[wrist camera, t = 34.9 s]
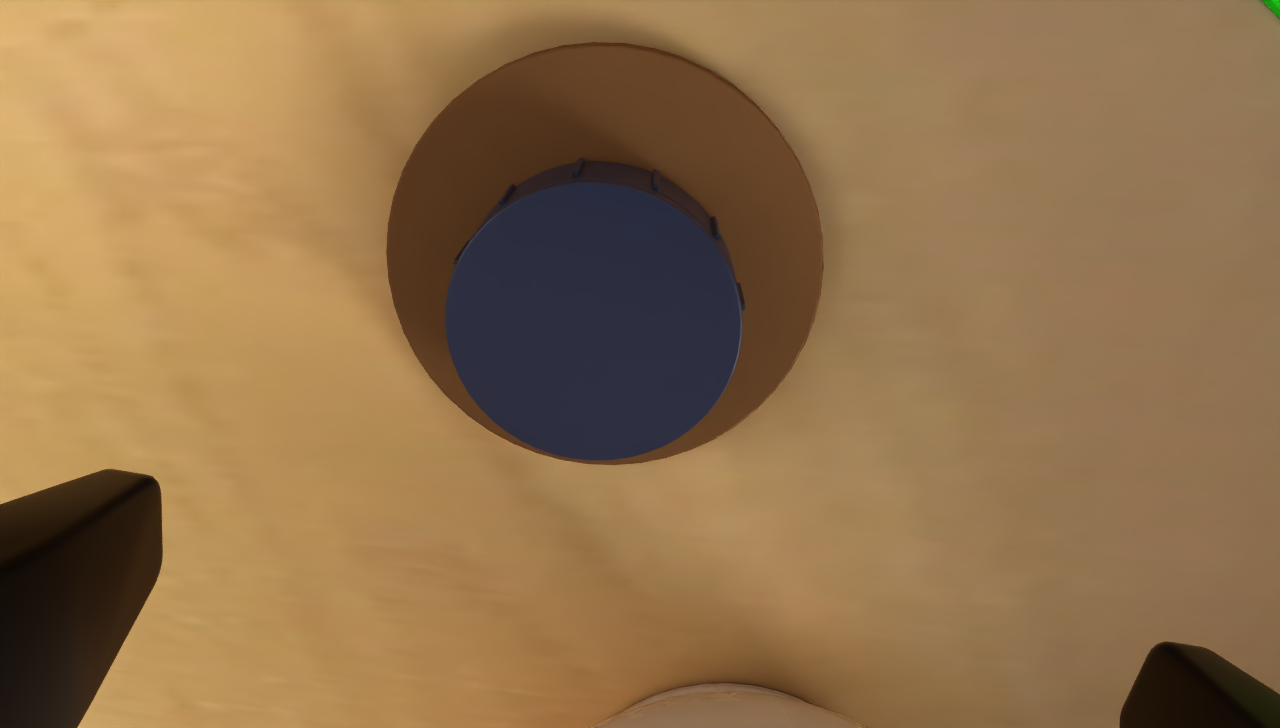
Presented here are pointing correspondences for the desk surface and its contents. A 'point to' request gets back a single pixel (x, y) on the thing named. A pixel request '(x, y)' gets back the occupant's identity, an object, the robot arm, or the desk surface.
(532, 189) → the jar lid
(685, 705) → the lidded bowl
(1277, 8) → the leaf
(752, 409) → the coaster
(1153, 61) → the desk surface
